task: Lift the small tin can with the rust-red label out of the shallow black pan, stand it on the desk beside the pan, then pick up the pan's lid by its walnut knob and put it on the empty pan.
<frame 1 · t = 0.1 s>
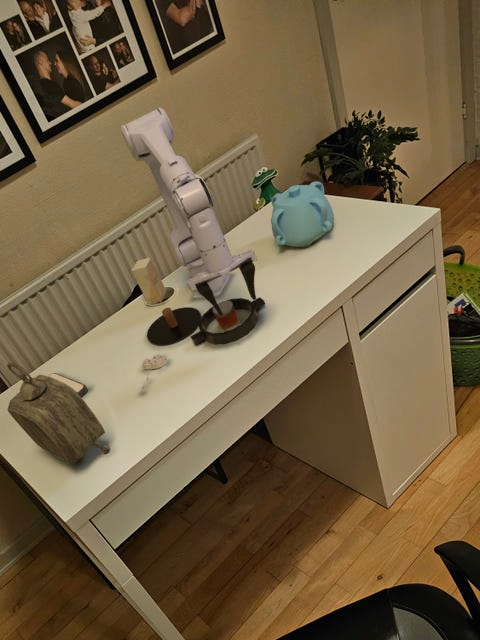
hand: (237, 306, 114), 10 cm above the table, tool pointing down, fingers open, 7 cm apart
pan lid: (174, 326, 135), point 1 cm above the table
box: (158, 299, 150), on the table
decorative pot: (306, 236, 147), on the table
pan: (230, 327, 128), on the table
phone case: (60, 394, 133), on the table
game controller: (151, 375, 126), on the table
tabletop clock: (83, 454, 114), on the table
can: (230, 326, 128), resting on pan
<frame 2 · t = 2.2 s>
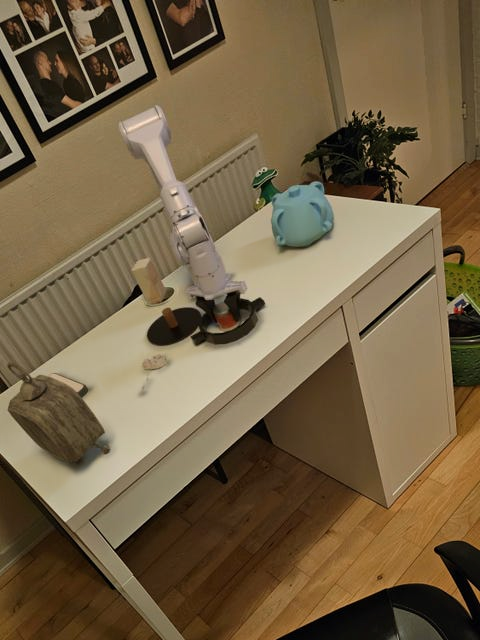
hand: (227, 319, 127), 2 cm above the table, tool pointing down, fingers closed on can, 5 cm apart
can: (230, 326, 128), resting on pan, touching gripper
everything else where it was.
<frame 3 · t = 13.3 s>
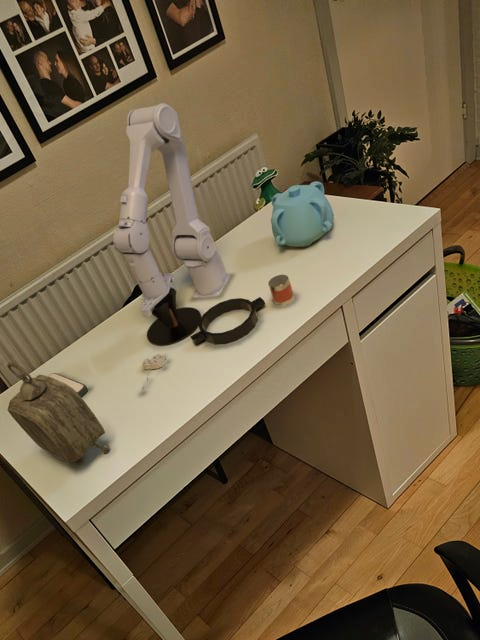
hand: (172, 322, 135), 2 cm above the table, tool pointing down, fingers closed on pan lid, 2 cm apart
pan lid: (174, 326, 135), point 1 cm above the table, touching gripper
can: (284, 300, 129), on the table
everything else where it was.
when the fingers open (5 cm above the table, at t = 17.6 s): pan lid stays where it is, resting on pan.
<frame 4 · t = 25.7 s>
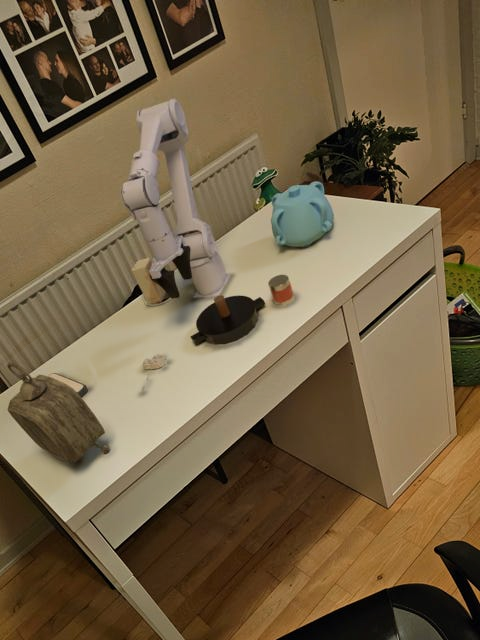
hand: (182, 288, 127), 10 cm above the table, tool pointing down, fingers open, 7 cm apart
pan lid: (226, 316, 126), point 3 cm above the table, touching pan
everything else where it was.
at the end: can inside the target area (0.1 cm from its centre), on the table; can tilted 0°; pan lid 0.0 cm off-centre on the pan, point 3.3 cm above the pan's base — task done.
